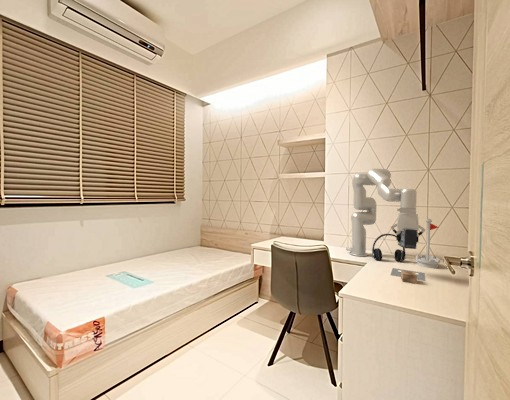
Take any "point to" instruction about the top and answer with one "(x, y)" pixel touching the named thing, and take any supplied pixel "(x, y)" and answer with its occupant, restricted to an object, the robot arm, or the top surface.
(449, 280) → the top surface
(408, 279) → the walnut block
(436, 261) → the marker stand
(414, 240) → the small box
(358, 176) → the robot arm
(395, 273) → the letter board
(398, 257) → the headphones
